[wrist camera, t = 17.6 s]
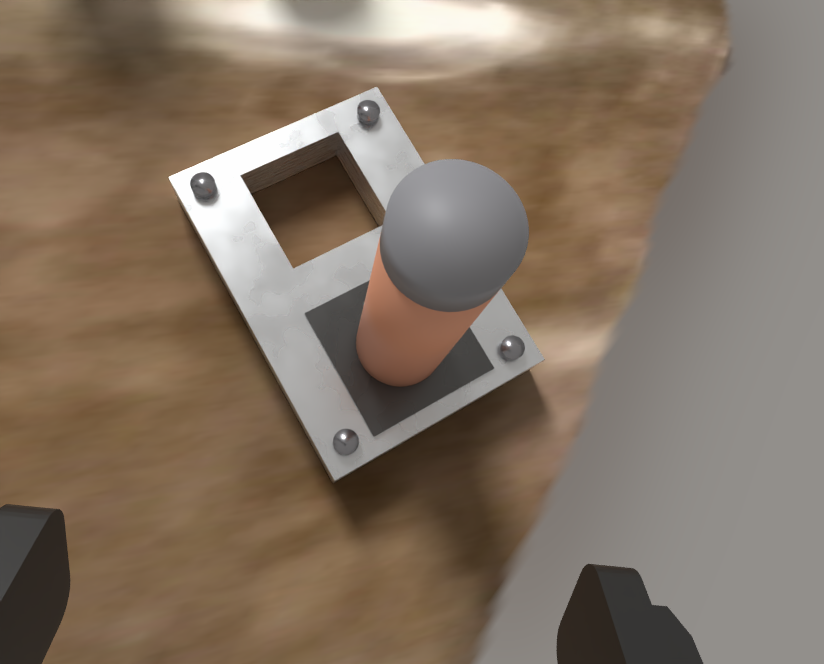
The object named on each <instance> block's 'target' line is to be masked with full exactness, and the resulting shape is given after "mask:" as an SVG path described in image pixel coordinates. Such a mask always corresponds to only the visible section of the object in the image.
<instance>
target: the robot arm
mask: <svg viewBox="0 0 824 664" xmlns="http://www.w3.org/2000/svg"><path fill="white" fill-rule="evenodd" d="M69 591H70V571H69V561H68V551H67V541H66V531H65V522H64V515H63V513H62V511H61V510H60V509H51V508H41V507H31V506H21V505H10V504H6V505H4V506H2V507H1V508H0V664H42V662H43V660H44V657H45V655H46V653H47V651H48V649H49V647H50V645H51V642H52V640H53V638H54V636H55V634H56V632H57V630H58V627H59V625H60V623H61V621H62V618H63V615H64V612H65V609H66V606H67V602H68V597H69ZM557 660H558V664H703V662H702V659H701V657H700V655H699V652H698V650H697V648H696V645H695V643H694V640H693V638H692V636H691V635H690V634H689V632H688V631H687V630H686V629H685V628H684V626H683V625H682V624H681V623H680V621H679V620H678V619H677V618H676V617H675V615H674V614H673V613H672V612H671V611H670V609H669V608H668V607H667V606H656V605H652V604H651V601H650V599H649V596H648V594H647V591H646V589H645V586H644V584H643V581H642V578H641V576H640V575H639V573H638V572H637V571H636V570H635V569H633V568H625V567H615V566H605V565H595V564H587V565H586V566H585V567H584V568H583V569H582V572H581V574H580V576H579V579H578V581H577V584H576V586H575V589H574V591H573V593H572V596H571V598H570V601H569V603H568V605H567V608H566V610H565V613H564V616H563V618H562V620H561V623H560V626H559V629H558V635H557Z"/></svg>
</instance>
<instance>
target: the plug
mask: <svg viewBox="0 0 824 664" xmlns="http://www.w3.org/2000/svg"><path fill="white" fill-rule="evenodd" d="M528 238H529V227H528V220H527V216H526V212H525V209H524V207H523V204H522V202H521V200H520V199H519V197H518V195H517V194H516V192H515V191H514V189H513V188H512V187H511V186H510V185H509V184H508V183H507V182H506V181H505V180H504V179H503V178H502V177H501V176H499V175H498V174H496V173H495V172H494V171H492V170H490V169H488V168H486V167H484V166H482V165H479V164H477V163H474V162H470V161H466V160H458V159H445V160H438V161H434V162H430V163H427V164H425V165H422V166H420V167H418V168H416V169H415V170H413V171H412V172H410V173H409V174H408V175H406V176H405V177H404V178H403V179H402V180H401V181H400V182H399V184H398V185H397V186H396V188H395V189H394V191H393V193H392V195H391V197H390V199H389V202H388V205H387V209H386V213H385V217H384V221H383V226H382V230H381V234H380V238H379V243H378V247H377V251H376V255H375V260H374V264H373V268H372V272H371V277H370V281H369V285H368V289H367V293H366V298H365V302H364V306H363V310H362V315H361V319H360V323H359V327H358V332H357V336H356V350H357V354H358V357H359V360H360V362H361V364H362V365H363V367H364V368H365V370H366V371H367V372H368V373H369V374H370V375H371V376H372V377H374V378H375V379H376V380H378V381H380V382H382V383H384V384H387V385H391V386H398V387H403V386H410V385H414V384H417V383H419V382H421V381H423V380H424V379H426V378H427V377H428V376H430V375H431V374H432V372H433V371H434V370H435V369H436V368H437V367H438V365H439V364H440V363H441V362H442V360H443V359H444V358H445V357H446V355H447V354H448V353H449V352H450V351H451V349H452V348H453V347H454V346H455V344H456V343H457V342H458V341H459V339H460V338H461V337H462V336H463V335H464V333H465V332H466V331H467V330H468V328H469V327H470V326H471V325H472V323H473V322H474V321H475V320H476V319H477V317H478V316H479V315H480V314H481V312H482V311H483V310H484V309H485V307H486V306H487V305H488V304H489V303H490V301H491V300H492V299H493V298H494V296H495V295H496V294H497V293H498V292H499V290H500V289H501V288H502V287H503V285H504V284H505V283H506V282H507V280H508V279H509V278H510V277H511V276H512V274H513V273H514V272H515V271H516V269H517V268H518V266H519V265H520V263H521V261H522V259H523V257H524V255H525V252H526V249H527V244H528Z"/></svg>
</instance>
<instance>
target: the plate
mask: <svg viewBox="0 0 824 664" xmlns="http://www.w3.org/2000/svg"><path fill="white" fill-rule="evenodd" d="M334 156H337V157H338V159H339V160H340V162H341V164H342V165H343V167H344V169H345V170H346V172H347V174H348V176H349V177H350V179H351V181H352V182H353V184H354V186H355V187H356V189H357V191H358V192H359V194H360V196H361V197H362V199H363V201H364V202H365V204H366V206H367V208H368V209H369V211H370V213H371V214H372V216H373V218H374V219H375V221H376V223H377V224H378V226H379V227H378V228H376V229H374V230H372V231H370V232H368V233H366V234H364V235H362V236H360V237H358V238H355V239H353V240H351V241H349V242H347V243H345V244H343V245H341V246H339V247H337V248H335V249H333V250H331V251H329V252H327V253H325V254H323V255H321V256H319V257H317V258H315V259H312V260H310V261H308V262H306V263H304V264H302V265H300V266H298V267H296V268H294V269H293V268H292V266H291V264H290V263H289V261H288V259H287V257H286V256H285V254H284V252H283V250H282V248H281V247H280V245H279V243H278V241H277V240H276V238H275V236H274V234H273V233H272V231H271V229H270V227H269V226H268V224H267V222H266V220H265V218H264V217H263V215H262V213H261V211H260V210H259V208H258V206H257V204H256V203H255V201H254V199H253V197H252V195H251V194H253V193H255V192H257V191H259V190H262V189H264V188H266V187H268V186H270V185H273V184H275V183H277V182H279V181H281V180H284V179H286V178H288V177H290V176H292V175H295V174H297V173H299V172H301V171H303V170H306V169H308V168H310V167H312V166H315V165H317V164H319V163H321V162H323V161H326V160H328V159H330V158H332V157H334ZM422 165H425V164H424V162H423V161H422V159H421V158H420V156H419V154H418V153H417V151H416V149H415V148H414V146H413V145H412V143H411V141H410V140H409V138H408V136H407V135H406V133H405V132H404V130H403V128H402V127H401V125H400V123H399V122H398V120H397V119H396V117H395V115H394V114H393V112H392V110H391V109H390V107H389V106H388V104H387V102H386V101H385V99H384V97H383V96H382V94H381V93H380V91H379V89H378V88H377V87H375V88H373V89H371V90H368V91H366V92H364V93H362V94H359V95H357V96H355V97H352V98H350V99H348V100H345V101H343V102H341V103H338V104H336V105H334V106H332V107H329V108H327V109H325V110H322V111H320V112H318V113H315V114H313V115H311V116H308V117H306V118H304V119H302V120H299V121H297V122H295V123H292V124H290V125H288V126H285V127H283V128H281V129H278V130H276V131H274V132H272V133H269V134H267V135H265V136H262V137H260V138H258V139H255V140H253V141H251V142H248V143H246V144H244V145H242V146H239V147H237V148H235V149H232V150H230V151H228V152H225V153H223V154H221V155H218V156H216V157H214V158H212V159H209V160H207V161H205V162H202V163H200V164H198V165H195V166H193V167H191V168H188V169H186V170H184V171H182V172H179V173H177V174H175V175H172V176H170V177H169V180H170V182H171V184H172V187H173V189H174V191H175V194H176V196H177V199H178V201H179V202H180V204H181V206H182V208H183V210H184V212H185V213H186V215H187V217H188V219H189V221H190V223H191V224H192V226H193V228H194V230H195V232H196V234H197V235H198V237H199V239H200V241H201V243H202V245H203V246H204V248H205V250H206V252H207V254H208V256H209V257H210V259H211V261H212V263H213V265H214V267H215V268H216V270H217V272H218V274H219V276H220V278H221V279H222V281H223V283H224V285H225V287H226V288H227V290H228V292H229V294H230V296H231V298H232V299H233V301H234V303H235V305H236V307H237V309H238V310H239V312H240V314H241V316H242V318H243V320H244V321H245V323H246V325H247V327H248V329H249V331H250V332H251V334H252V336H253V338H254V340H255V342H256V343H257V345H258V347H259V349H260V351H261V353H262V354H263V356H264V358H265V360H266V362H267V364H268V365H269V367H270V369H271V371H272V373H273V375H274V376H275V378H276V380H277V382H278V384H279V386H280V387H281V389H282V391H283V393H284V395H285V396H286V398H287V400H288V402H289V404H290V406H291V407H292V409H293V411H294V413H295V415H296V417H297V418H298V420H299V422H300V424H301V426H302V428H303V429H304V431H305V433H306V435H307V437H308V439H309V440H310V442H311V444H312V446H313V448H314V450H315V451H316V453H317V455H318V457H319V459H320V461H321V462H322V464H323V466H324V468H325V470H326V472H327V473H328V475H329V477H330V479H331V481H332V483H334V482H336V481H338V480H340V479H341V478H343V477H345V476H347V475H348V474H350V473H352V472H353V471H355V470H357V469H359V468H360V467H362V466H364V465H366V464H367V463H369V462H371V461H373V460H374V459H376V458H378V457H379V456H381V455H383V454H385V453H386V452H388V451H390V450H392V449H393V448H395V447H397V446H398V445H400V444H402V443H404V442H405V441H407V440H409V439H411V438H412V437H414V436H416V435H417V434H419V433H421V432H423V431H424V430H426V429H428V428H430V427H431V426H433V425H435V424H436V423H438V422H440V421H442V420H443V419H445V418H447V417H449V416H450V415H452V414H454V413H455V412H457V411H459V410H461V409H462V408H464V407H466V406H468V405H469V404H471V403H473V402H475V401H476V400H478V399H480V398H481V397H483V396H485V395H487V394H488V393H490V392H492V391H494V390H495V389H497V388H499V387H500V386H502V385H504V384H506V383H507V382H509V381H511V380H513V379H514V378H516V377H518V376H519V375H521V374H523V373H525V372H526V371H528V370H530V369H531V368H533V367H534V366H536V365H537V364H539V363H540V362H542V361H543V360H545V359H544V358H543V356H542V354H541V353H540V351H539V349H538V348H537V346H536V345H535V343H534V341H533V340H532V338H531V336H530V335H529V333H528V332H527V330H526V328H525V327H524V325H523V323H522V322H521V320H520V319H519V317H518V315H517V314H516V312H515V310H514V309H513V307H512V306H511V304H510V302H509V301H508V299H507V297H506V296H505V294H504V293H503V291H502V289H500V290H499V292H498V293H497V294H496V295H495V296H494V298H493V299H492V300H491V301H490V303H489V304H488V305H487V306H486V307H485V309H484V310H483V311H482V312H481V314H480V315H479V316H478V317H477V319H476V320H475V321H474V322H473V323H472V325H471V326H470V327H469V328H468V330H467V331H466V332H465V333H464V335H463V336H462V337H461V338H460V339H459V341H458V342H457V343H456V344H455V346H454V347H453V348H452V349H451V351H450V352H449V353H448V354H447V355H446V357H445V358H444V359H443V360H442V362H441V363H440V364H439V365H438V367H437V368H436V369H435V370H434V371H433V372H432V374H431V375H430V376H428V377H427V378H426V379H424V380H423V381H421V382H419V383H417V384H414V385H410V386H403V387H398V386H391V385H387V384H384V383H382V382H380V381H378V380H376V379H375V378H374V377H372V376H371V375H370V374H369V373H368V372H367V371H366V370H365V368H364V367H363V365H362V364H361V362H360V360H359V357H358V354H357V350H356V336H357V332H358V327H359V323H360V319H361V315H362V310H363V306H364V302H365V298H366V293H367V289H368V285H369V281H370V277H371V272H372V268H373V264H374V260H375V255H376V251H377V247H378V243H379V238H380V234H381V230H382V226H383V221H384V217H385V213H386V209H387V205H388V202H389V199H390V197H391V195H392V193H393V191H394V189H395V188H396V186H397V185H398V184H399V182H400V181H401V180H402V179H403V178H404V177H405V176H406V175H408V174H409V173H410V172H412V171H413V170H415V169H416V168H418V167H420V166H422Z"/></svg>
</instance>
